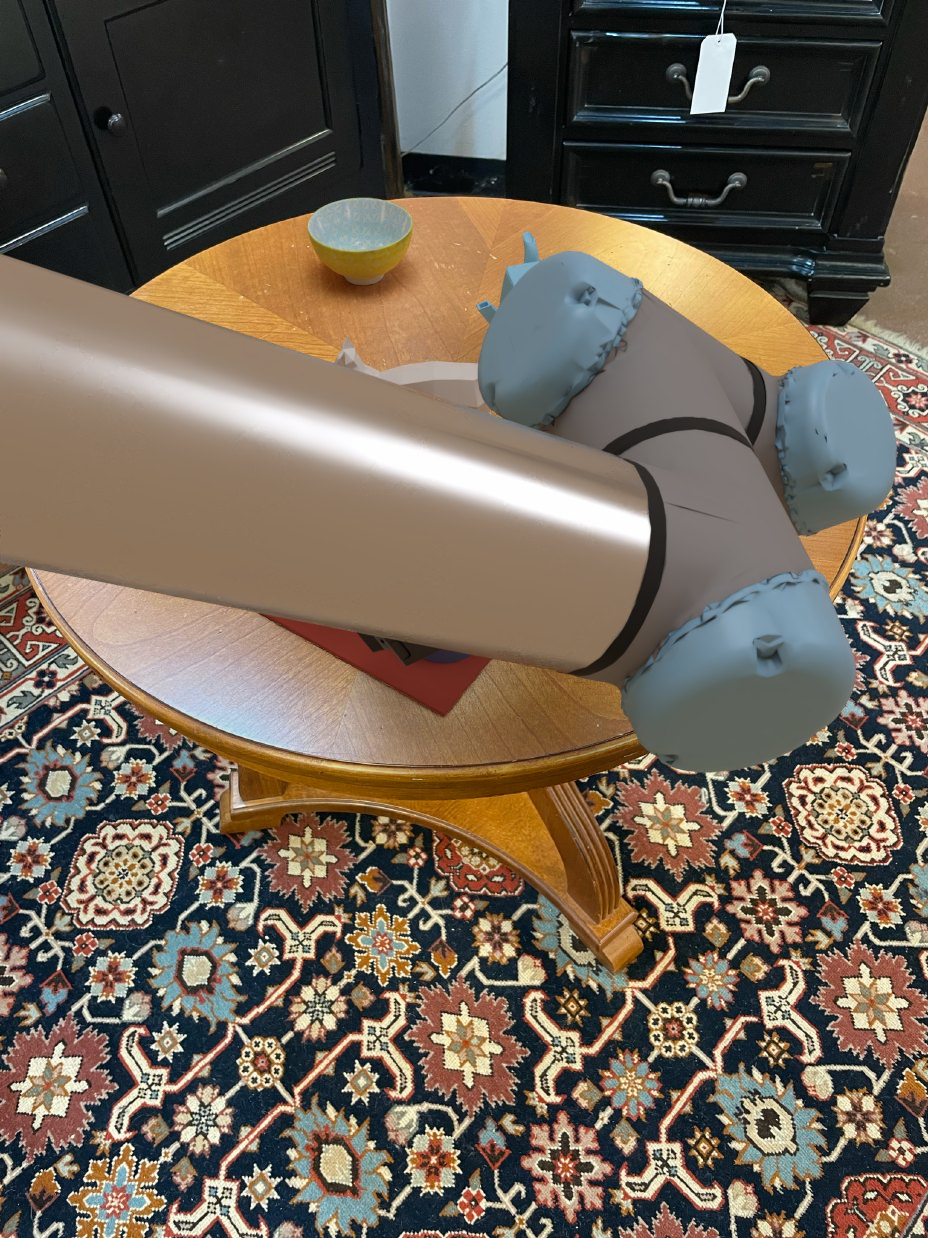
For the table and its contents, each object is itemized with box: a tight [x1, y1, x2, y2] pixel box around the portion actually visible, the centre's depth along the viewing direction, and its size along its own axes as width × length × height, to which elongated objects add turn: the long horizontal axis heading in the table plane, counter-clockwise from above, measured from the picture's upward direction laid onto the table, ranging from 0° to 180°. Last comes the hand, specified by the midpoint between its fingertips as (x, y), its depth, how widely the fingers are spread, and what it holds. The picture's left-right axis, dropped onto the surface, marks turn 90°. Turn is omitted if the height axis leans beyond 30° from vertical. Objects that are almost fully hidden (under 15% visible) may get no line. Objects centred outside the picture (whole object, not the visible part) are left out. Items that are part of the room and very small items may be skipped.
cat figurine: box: [332, 335, 493, 415], centre depth 83 cm, size 4×20×14 cm, turn 91°
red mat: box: [259, 613, 492, 718], centre depth 76 cm, size 18×13×1 cm
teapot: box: [475, 231, 541, 325], centre depth 94 cm, size 18×14×10 cm
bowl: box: [306, 197, 414, 286], centre depth 106 cm, size 11×12×6 cm
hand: (414, 582), depth 72 cm, fingers open, 12 cm apart
